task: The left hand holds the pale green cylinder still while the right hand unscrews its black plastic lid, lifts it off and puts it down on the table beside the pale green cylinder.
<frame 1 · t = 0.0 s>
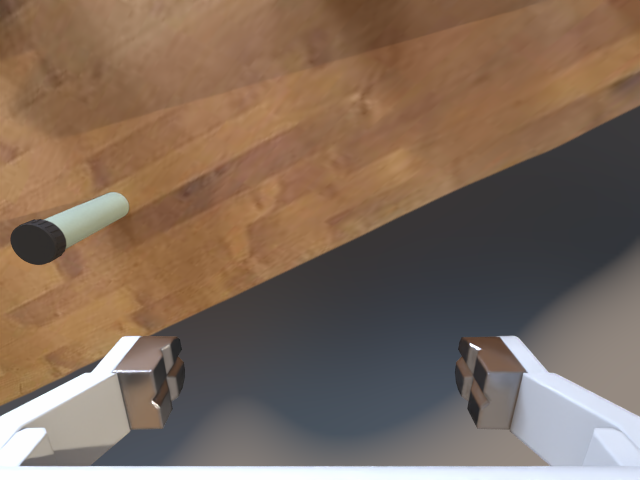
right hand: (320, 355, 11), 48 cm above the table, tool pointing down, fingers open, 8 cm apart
pale green cylinder: (115, 205, 58), on the table
lid: (35, 244, 42), point 18 cm above the table, screwed on, not yet turned
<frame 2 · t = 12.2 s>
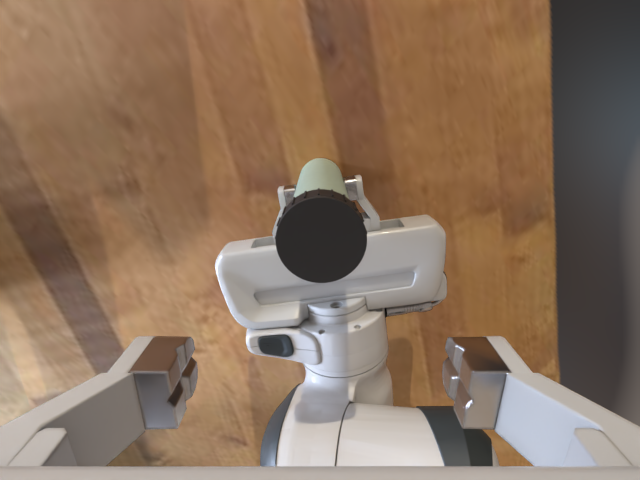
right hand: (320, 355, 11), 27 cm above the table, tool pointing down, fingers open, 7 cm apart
left hand: (318, 181, 31), fingers closed on pale green cylinder, 4 cm apart
pale green cylinder: (320, 179, 36), on the table, touching left hand
lid: (321, 239, 20), point 18 cm above the table, screwed on, not yet turned
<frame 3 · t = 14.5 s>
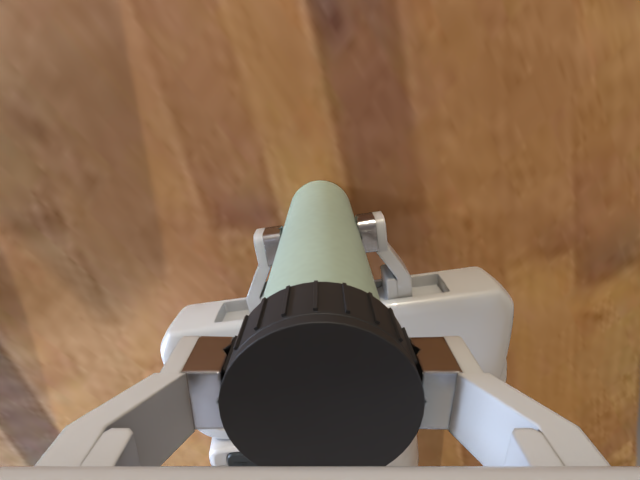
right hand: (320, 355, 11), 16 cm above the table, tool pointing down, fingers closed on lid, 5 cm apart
pale green cylinder: (320, 210, 26), on the table, touching left hand
lid: (321, 400, 9), point 18 cm above the table, screwed on, not yet turned, touching right hand
when the right hand's fingers open (16 cm above the table, at t = 15.7 s): lid stays where it is, point 18 cm above the table.
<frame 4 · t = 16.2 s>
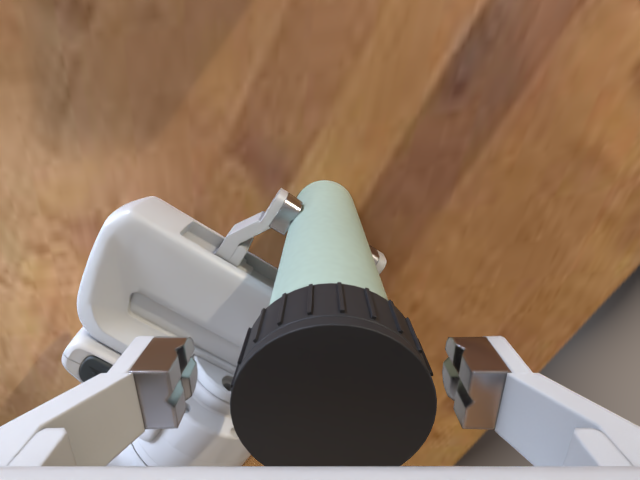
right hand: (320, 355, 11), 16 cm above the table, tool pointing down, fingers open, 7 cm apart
pale green cylinder: (324, 209, 26), on the table, touching left hand
lid: (332, 402, 9), point 18 cm above the table, turned 69° so far, risen 0.2 cm, still on its thread
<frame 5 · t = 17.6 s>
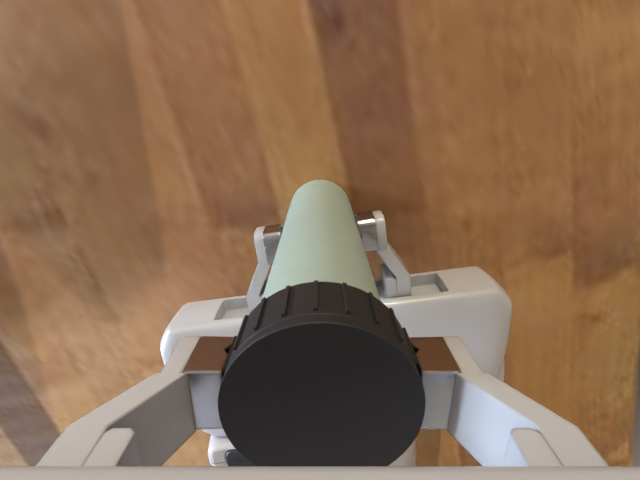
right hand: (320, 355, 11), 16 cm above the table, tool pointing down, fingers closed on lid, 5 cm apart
pale green cylinder: (320, 209, 26), on the table, touching left hand
lid: (321, 400, 9), point 18 cm above the table, turned 69° so far, risen 0.2 cm, still on its thread, touching right hand
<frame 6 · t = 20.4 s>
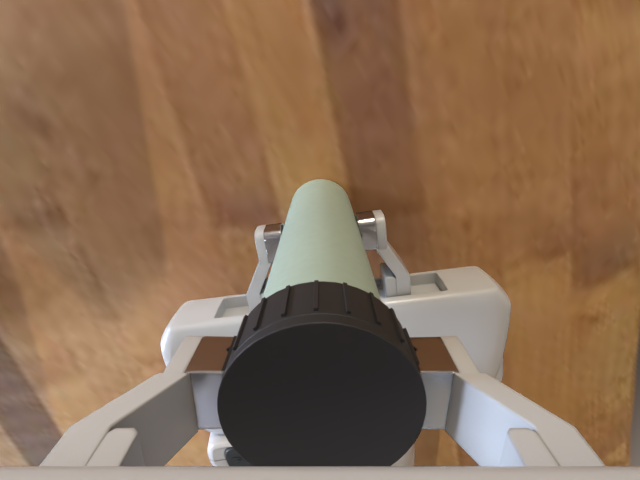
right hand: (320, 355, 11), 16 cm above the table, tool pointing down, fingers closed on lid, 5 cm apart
pale green cylinder: (320, 208, 26), on the table, touching left hand
lid: (321, 401, 9), point 18 cm above the table, turned 138° so far, risen 0.4 cm, still on its thread, touching right hand
when the right hand's fingers open (2 cm above the table, at t = 27.2 s): lid drops 2 cm, point 2 cm above the table.
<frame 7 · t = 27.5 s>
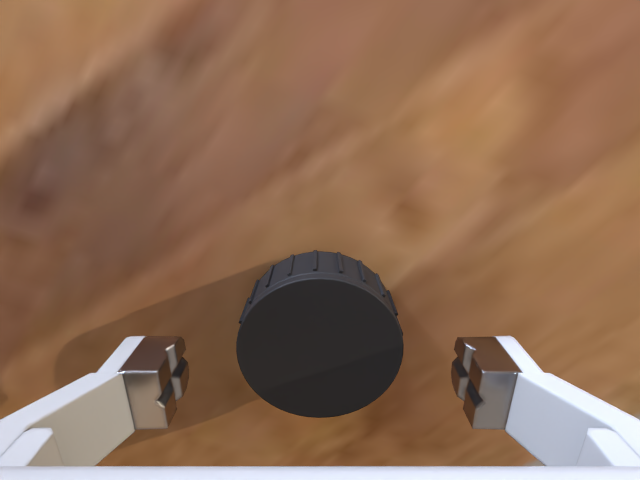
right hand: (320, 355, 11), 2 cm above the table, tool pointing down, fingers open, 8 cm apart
lid: (319, 346, 11), point 2 cm above the table, off its thread
when the left hand's fingers open (6 cm above the table, at t = 28.2 s): pale green cylinder stays where it is, on the table.
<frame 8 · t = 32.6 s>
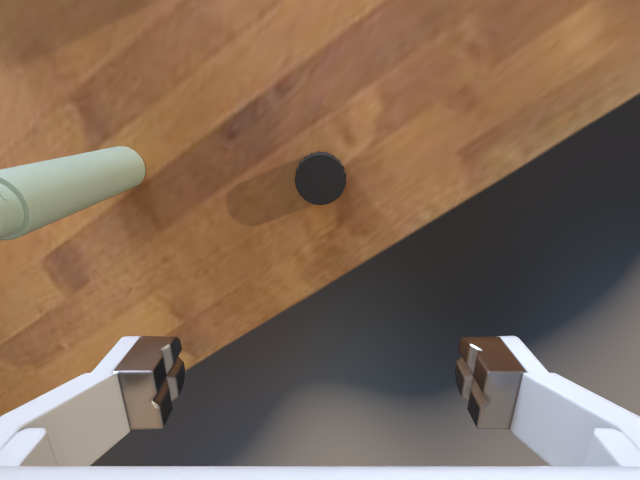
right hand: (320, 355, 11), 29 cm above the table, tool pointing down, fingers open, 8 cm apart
pale green cylinder: (124, 167, 37), on the table
lid: (320, 179, 36), point 2 cm above the table, off its thread
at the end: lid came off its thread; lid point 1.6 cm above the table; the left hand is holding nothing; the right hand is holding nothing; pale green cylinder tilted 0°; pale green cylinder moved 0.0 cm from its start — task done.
